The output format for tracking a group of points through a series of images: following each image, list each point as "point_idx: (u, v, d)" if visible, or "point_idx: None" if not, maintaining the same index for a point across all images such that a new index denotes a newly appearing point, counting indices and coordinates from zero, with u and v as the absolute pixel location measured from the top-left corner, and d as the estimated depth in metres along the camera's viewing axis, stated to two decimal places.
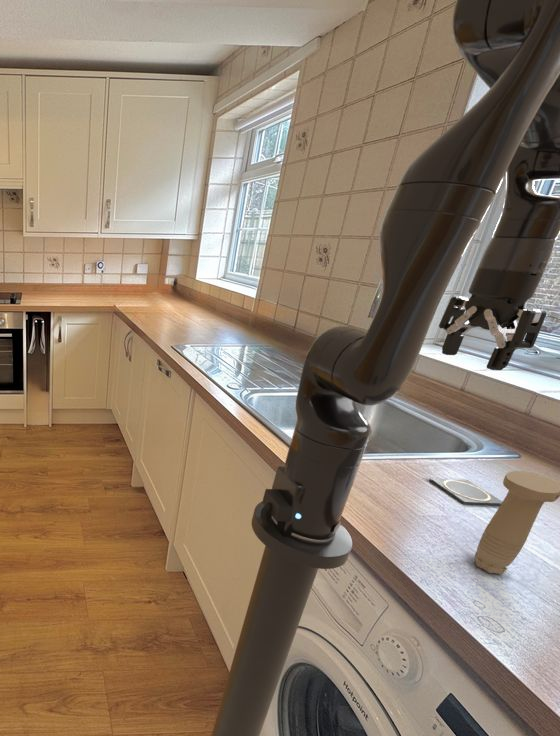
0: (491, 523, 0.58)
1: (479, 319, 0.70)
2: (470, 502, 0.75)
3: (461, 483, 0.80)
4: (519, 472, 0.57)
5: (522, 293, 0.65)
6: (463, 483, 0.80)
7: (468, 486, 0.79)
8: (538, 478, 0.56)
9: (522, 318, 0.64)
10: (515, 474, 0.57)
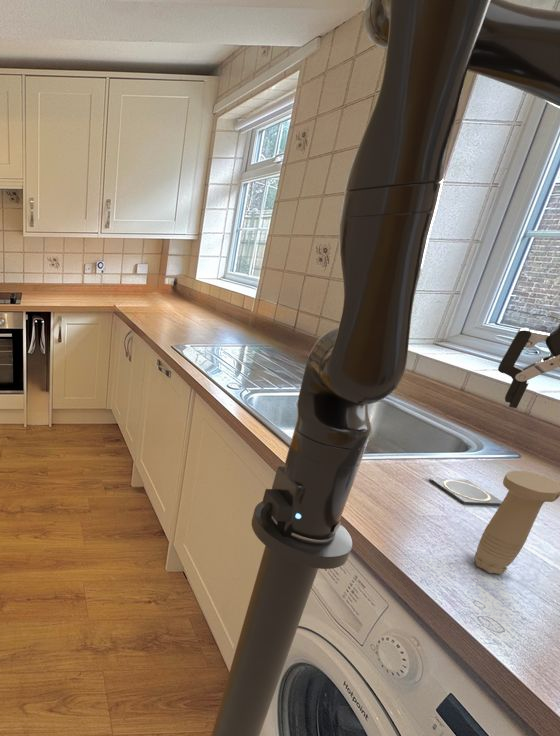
0: (491, 523, 0.58)
1: None
2: (470, 502, 0.75)
3: (461, 483, 0.80)
4: (519, 472, 0.57)
5: None
6: (463, 483, 0.80)
7: (468, 486, 0.79)
8: (538, 478, 0.56)
9: None
10: (515, 474, 0.57)
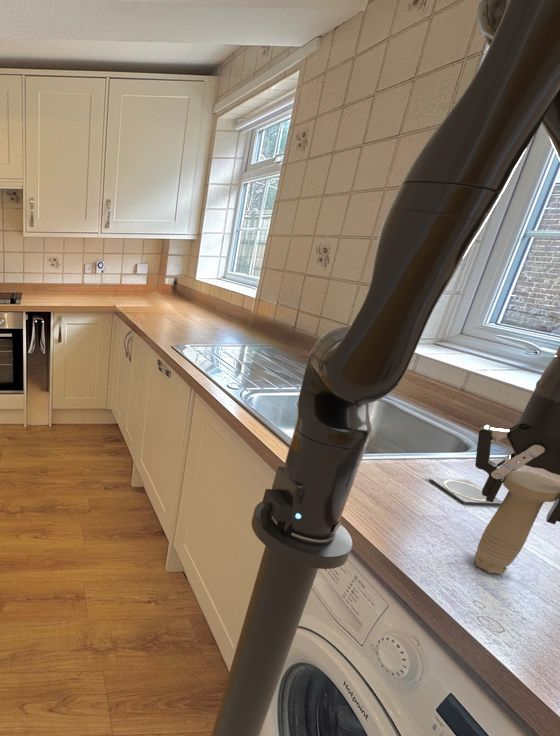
0: (491, 523, 0.58)
1: (542, 459, 0.53)
2: (470, 502, 0.75)
3: (461, 483, 0.80)
4: (519, 472, 0.57)
5: None
6: (463, 483, 0.80)
7: (468, 486, 0.79)
8: (538, 478, 0.56)
9: None
10: (515, 474, 0.57)
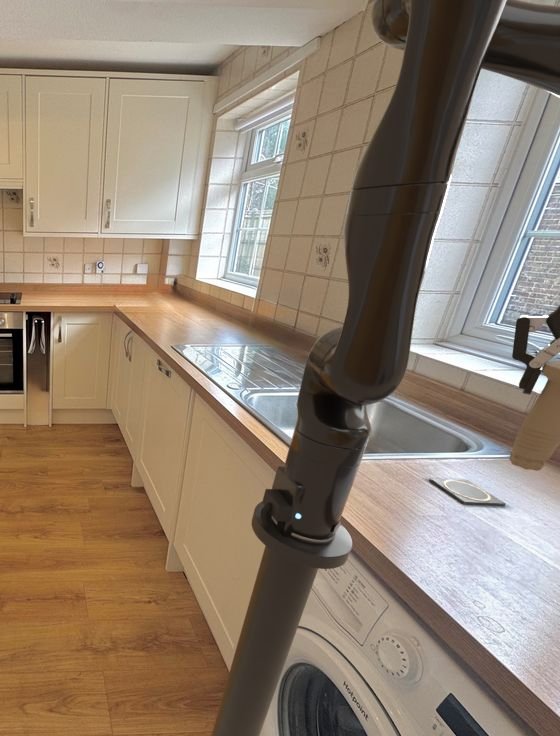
0: (528, 417, 0.57)
1: None
2: (470, 502, 0.75)
3: (461, 483, 0.80)
4: (558, 362, 0.55)
5: None
6: (463, 483, 0.80)
7: (468, 486, 0.79)
8: None
9: None
10: (555, 363, 0.55)
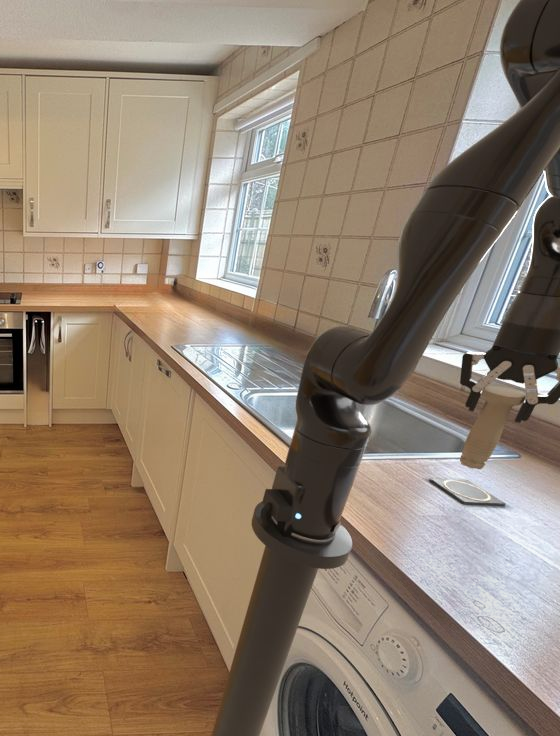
0: (472, 428, 0.75)
1: (510, 372, 0.70)
2: (470, 502, 0.75)
3: (461, 483, 0.80)
4: (494, 387, 0.73)
5: None
6: (463, 483, 0.80)
7: (468, 486, 0.79)
8: (508, 390, 0.72)
9: None
10: (491, 388, 0.73)
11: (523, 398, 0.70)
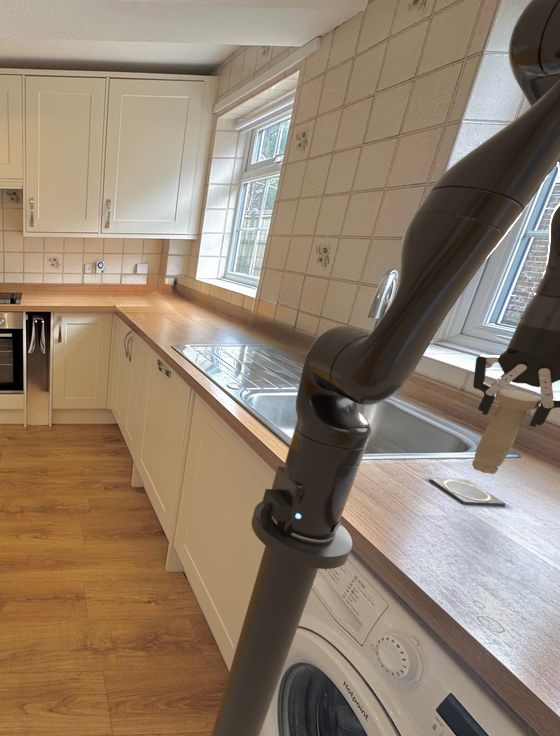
0: (486, 432, 0.74)
1: (525, 376, 0.69)
2: (470, 502, 0.75)
3: (461, 483, 0.80)
4: (507, 390, 0.72)
5: None
6: (463, 483, 0.80)
7: (468, 486, 0.79)
8: (522, 394, 0.71)
9: None
10: (505, 391, 0.72)
11: (538, 402, 0.68)
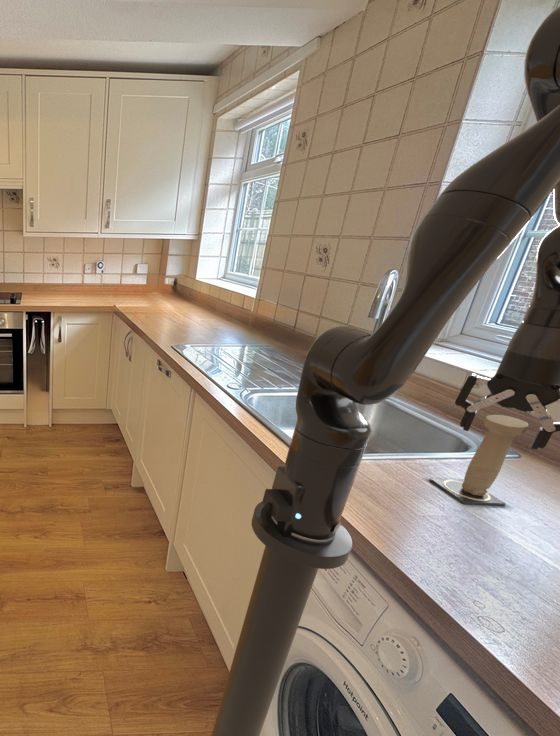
0: (475, 456, 0.75)
1: (513, 401, 0.70)
2: (470, 502, 0.75)
3: (461, 483, 0.80)
4: (496, 415, 0.74)
5: None
6: None
7: None
8: (510, 419, 0.73)
9: None
10: (493, 416, 0.74)
11: (525, 428, 0.70)
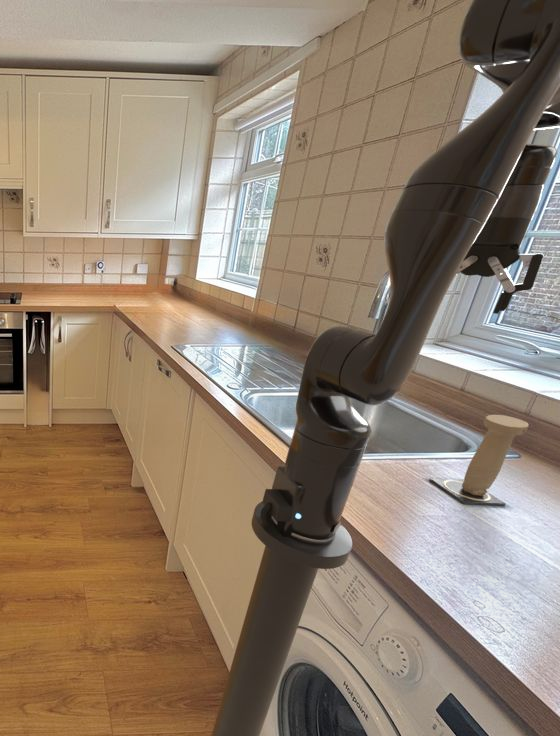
0: (475, 456, 0.75)
1: (476, 267, 0.73)
2: (470, 502, 0.75)
3: (461, 483, 0.80)
4: (496, 415, 0.74)
5: (522, 239, 0.69)
6: None
7: None
8: (510, 419, 0.73)
9: (533, 262, 0.68)
10: (493, 416, 0.74)
11: (525, 428, 0.70)
